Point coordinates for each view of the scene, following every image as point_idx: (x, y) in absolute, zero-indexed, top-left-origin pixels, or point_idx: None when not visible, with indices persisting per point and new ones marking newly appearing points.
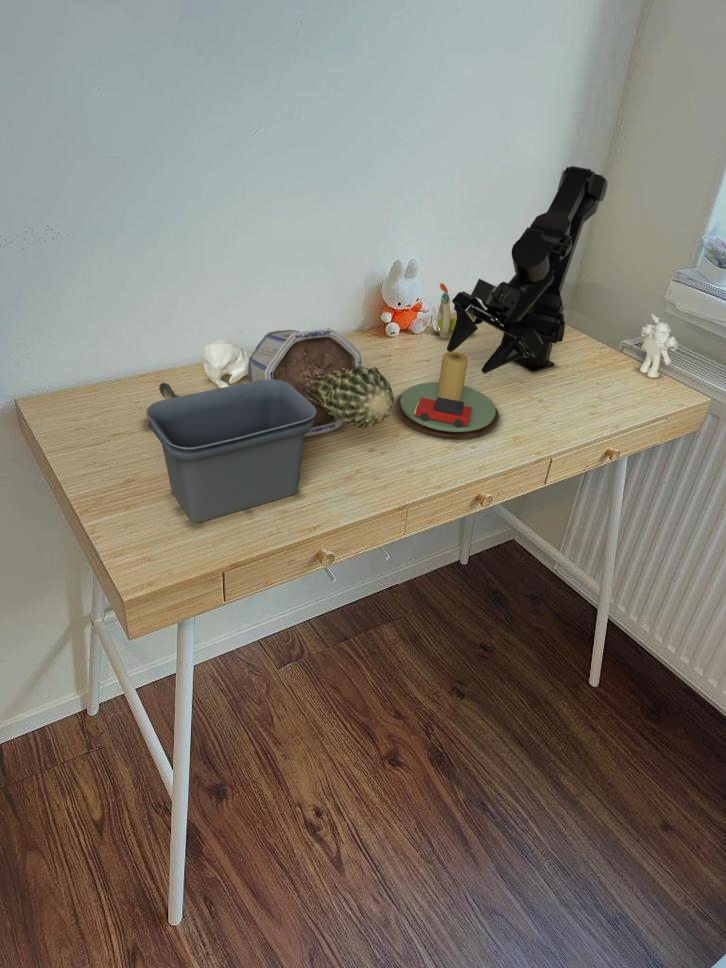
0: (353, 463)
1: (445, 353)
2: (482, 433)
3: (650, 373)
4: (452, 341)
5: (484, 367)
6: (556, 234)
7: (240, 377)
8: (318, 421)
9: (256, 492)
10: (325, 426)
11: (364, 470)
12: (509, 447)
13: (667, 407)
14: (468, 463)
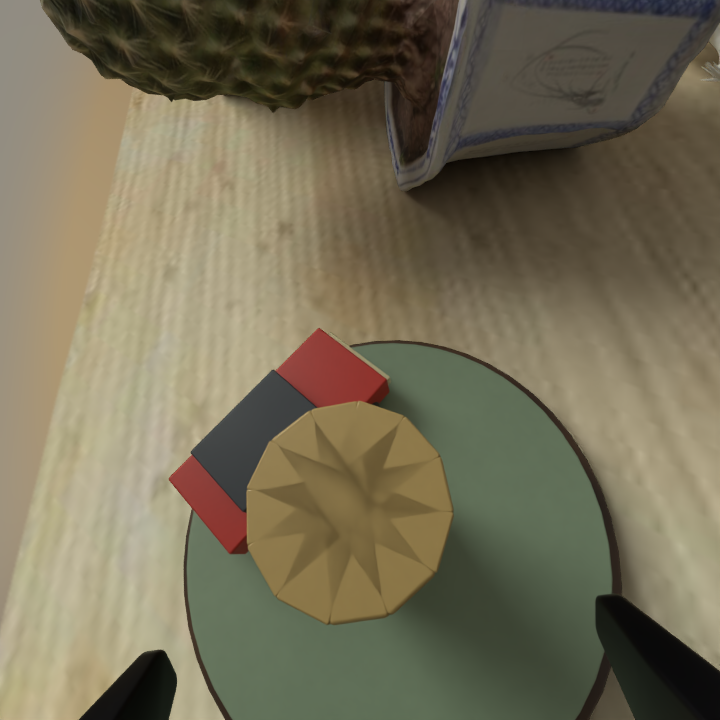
0: (257, 185)
1: (424, 449)
2: (185, 562)
3: None
4: (658, 667)
5: (124, 676)
6: None
7: None
8: (403, 128)
9: None
10: (395, 151)
11: (225, 196)
12: (86, 622)
13: None
14: (109, 421)
